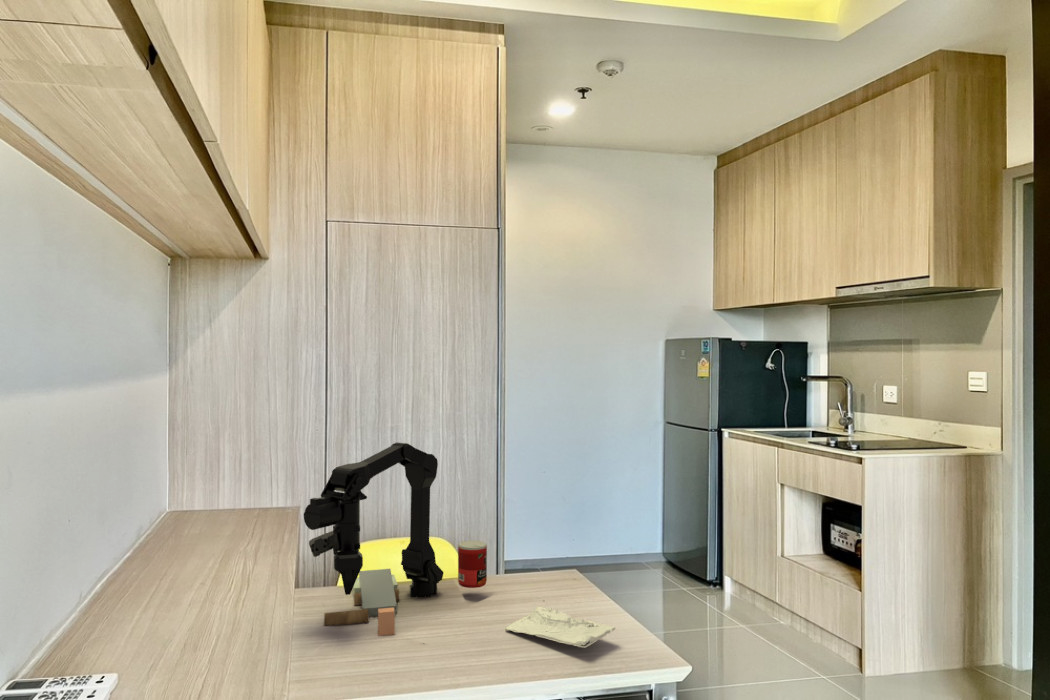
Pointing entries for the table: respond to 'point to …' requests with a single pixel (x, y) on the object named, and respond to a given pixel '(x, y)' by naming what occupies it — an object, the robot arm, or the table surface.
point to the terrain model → (560, 627)
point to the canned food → (472, 564)
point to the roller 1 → (346, 617)
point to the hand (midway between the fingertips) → (347, 588)
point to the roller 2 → (358, 597)
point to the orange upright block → (386, 621)
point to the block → (357, 585)
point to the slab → (377, 590)
